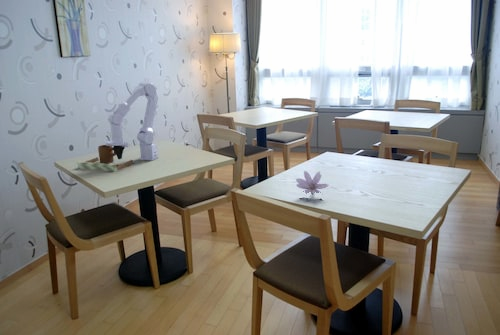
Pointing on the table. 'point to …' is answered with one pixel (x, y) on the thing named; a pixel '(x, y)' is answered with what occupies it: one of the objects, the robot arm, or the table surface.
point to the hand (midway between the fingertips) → (119, 158)
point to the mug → (106, 154)
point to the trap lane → (102, 165)
